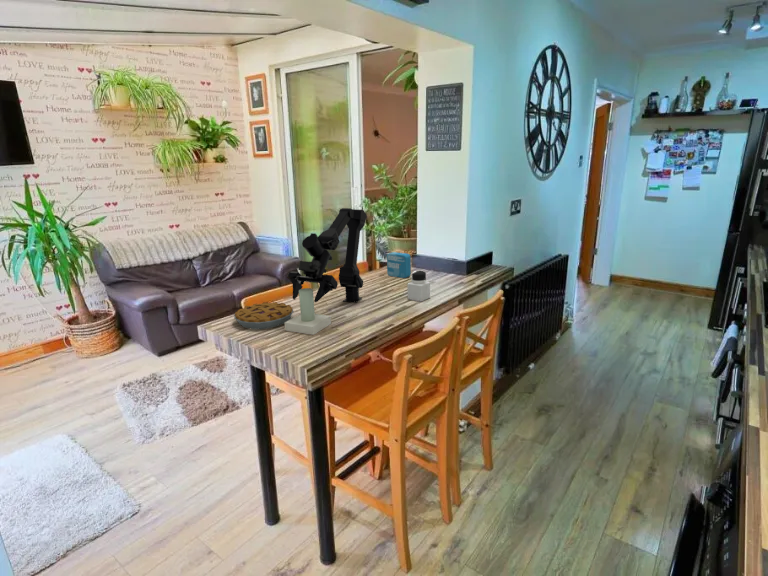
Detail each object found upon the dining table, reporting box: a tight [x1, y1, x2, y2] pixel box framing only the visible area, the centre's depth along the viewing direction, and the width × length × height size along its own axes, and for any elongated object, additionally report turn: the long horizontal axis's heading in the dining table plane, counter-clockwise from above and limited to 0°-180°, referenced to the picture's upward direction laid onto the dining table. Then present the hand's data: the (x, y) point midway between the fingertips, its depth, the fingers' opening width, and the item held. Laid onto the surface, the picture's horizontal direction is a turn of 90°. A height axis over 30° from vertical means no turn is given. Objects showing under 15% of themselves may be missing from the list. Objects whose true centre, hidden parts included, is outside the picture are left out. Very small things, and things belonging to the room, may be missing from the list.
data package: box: [386, 251, 412, 279], centre depth 229 cm, size 12×4×12 cm, turn 54°
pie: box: [233, 301, 295, 330], centre depth 170 cm, size 22×22×5 cm
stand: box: [284, 313, 332, 336], centre depth 162 cm, size 12×12×3 cm
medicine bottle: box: [407, 270, 431, 303], centre depth 191 cm, size 7×7×12 cm
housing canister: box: [298, 287, 316, 322], centre depth 160 cm, size 5×5×11 cm
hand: (304, 300), depth 158 cm, fingers open, 9 cm apart
